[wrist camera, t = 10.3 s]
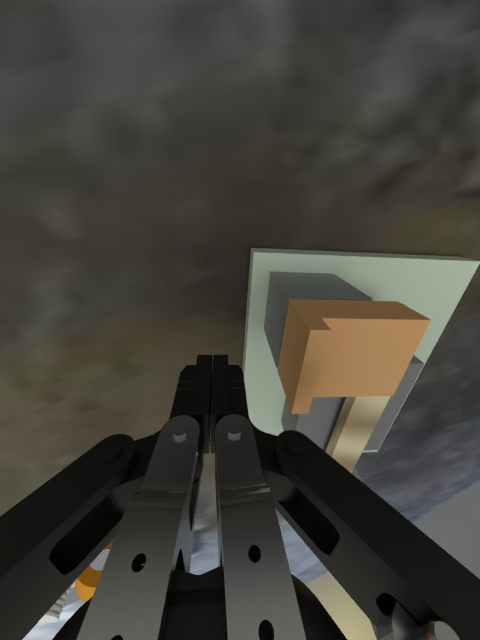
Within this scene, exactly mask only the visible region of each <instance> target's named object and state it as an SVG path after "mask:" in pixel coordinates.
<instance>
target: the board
mask: <svg viewBox="0 0 480 640" xmlns="http://www.w3.org/2000/svg"><path fill="white" fill-rule="evenodd" d="M479 264H480V261H476V260H472V259H468V258H463V257H458V256H435V255H411V254H387V253H364V252H340V251H316V250H293V249H269V248H251V255H250V269H249V282H248V296H247V310H246V324H245V337H244V351H243V365H242V371H243V373H244V382H245V389H246V397H247V405H248V413H249V418H250V420H251V422H252V423H253V425H254V426H255V427H256V428H258V429H259V430H261V431H263V432H266V433H269V434H273V435H276V436H278V435H279V434H280V433H281V432H283V431H286V430H295V431H298V432H301V433H303V434H304V435H306V436H307V437H308V438H309V439H310V440H312V441H313V442H314V443H315V444H317V445H318V446H319V447H320V448H321V449H323V450H324V451H326V449H327V446H328V444H329V441H330V438H331V436H332V433H333V431H334V428H335V425H336V423H337V420H338V418H339V415H340V412H341V410H342V407H343V405H344V402H345V399H346V397H313V399H312V403H311V406H310V410H309V414H291V411H290V408H289V405H288V402H287V399H286V396H285V393H284V390H283V387H282V384H281V381H280V378H279V375H278V371H277V369H278V363H279V357H280V351H281V345H282V339H283V333H284V327H285V321H286V315H287V309H288V303H289V299H315V300H358V301H399V302H400V303H402V304H404V305H406V306H407V307H409V308H411V309H413V310H415V311H416V312H418V313H420V314H422V315H423V316H425V317H427V318H429V319H430V320H431V321H430V323H429V325H428V327H427V329H426V331H425V333H424V335H423V337H422V339H421V341H420V343H419V345H418V347H417V349H416V351H415V353H414V355H413V357H412V359H411V361H410V363H409V365H408V367H407V369H406V371H405V373H404V375H403V377H402V379H401V381H400V383H399V385H398V387H397V389H396V391H395V393H394V395H393V396H391V397H390V399H389V401H388V403H387V405H386V407H385V408H384V410H383V412H382V414H381V416H380V418H379V420H378V422H377V424H376V426H375V428H374V430H373V432H372V434H371V436H370V438H369V440H368V442H367V444H366V446H365V448H364V449H363V451H362V452H378V450H379V448H380V446H381V444H382V442H383V441H384V439H385V437H386V435H387V433H388V431H389V429H390V428H391V426H392V424H393V422H394V420H395V418H396V417H397V415H398V413H399V411H400V409H401V407H402V406H403V404H404V402H405V400H406V398H407V396H408V394H409V393H410V391H411V389H412V387H413V385H414V383H415V382H416V380H417V378H418V376H419V374H420V372H421V371H422V369H423V367H424V365H425V363H426V361H427V359H428V358H429V356H430V354H431V352H432V350H433V348H434V347H435V345H436V343H437V341H438V339H439V337H440V335H441V334H442V332H443V330H444V328H445V326H446V324H447V323H448V321H449V319H450V317H451V315H452V313H453V312H454V310H455V308H456V306H457V304H458V302H459V300H460V299H461V297H462V295H463V293H464V291H465V289H466V288H467V286H468V284H469V282H470V280H471V278H472V277H473V275H474V273H475V271H476V269H477V267H478V265H479ZM352 474H353V475H354V476H355V477H356V478H358V479H359V480H360V481H361V482H362V480H361V478H360V476H359V474H358V472H357V470H356V468H355V467H354V469H353V471H352Z"/></svg>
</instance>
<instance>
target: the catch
mask: <svg viewBox="0 0 480 640" xmlns="http://www.w3.org/2000/svg"><path fill="white" fill-rule="evenodd" d="M430 321H431V320H430V319H429V318H427V317H425V316H423V315H422V314H420V313H418V312H416V311H415V310H413V309H411V308H409V307H407V306H406V305H404V304H402V303H400V302H399V301H358V300H315V299H289V303H288V309H287V315H286V321H285V327H284V333H283V339H282V345H281V351H280V357H279V363H278V369H277V371H278V375H279V378H280V381H281V384H282V387H283V390H284V393H285V396H286V399H287V402H288V405H289V408H290V411H291V414H309V410H310V406H311V403H312V399H313V397H365V396H393V395H394V393H395V391H396V389H397V387H398V385H399V383H400V381H401V379H402V377H403V375H404V373H405V371H406V369H407V367H408V365H409V363H410V361H411V359H412V357H413V355H414V353H415V351H416V349H417V347H418V345H419V343H420V341H421V339H422V337H423V335H424V333H425V331H426V329H427V327H428V325H429V323H430Z"/></svg>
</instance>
